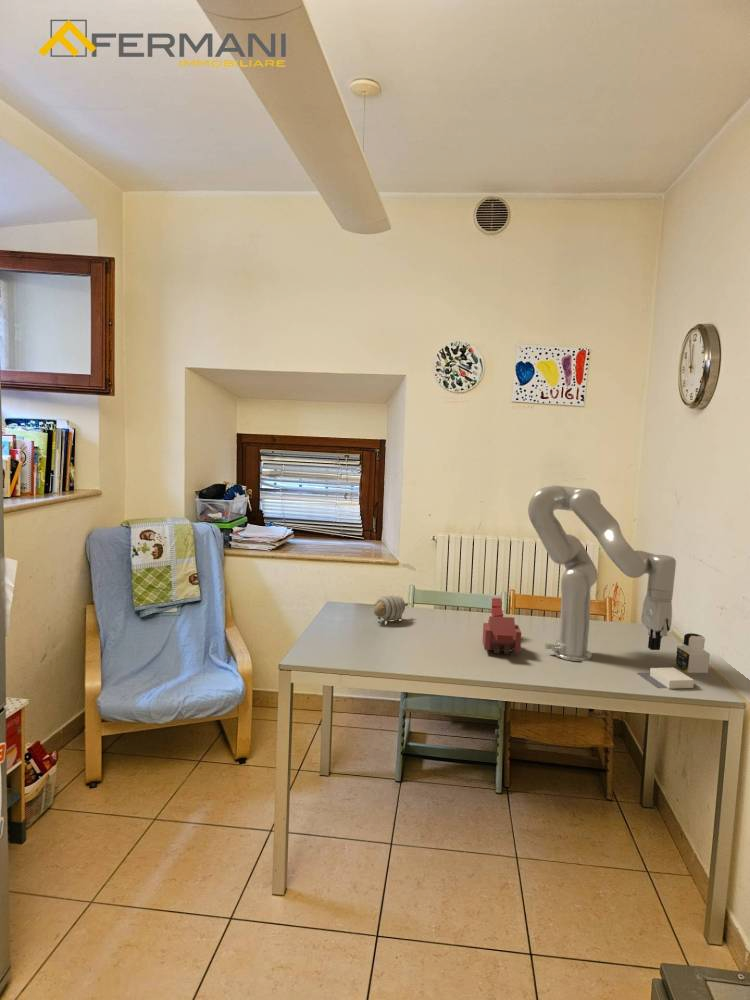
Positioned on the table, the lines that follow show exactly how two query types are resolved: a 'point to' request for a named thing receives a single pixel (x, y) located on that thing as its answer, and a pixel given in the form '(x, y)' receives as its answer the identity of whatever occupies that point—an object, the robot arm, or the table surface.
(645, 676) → the mat
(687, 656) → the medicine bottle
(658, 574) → the robot arm
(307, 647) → the table surface
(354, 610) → the table surface
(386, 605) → the toy sheep
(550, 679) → the table surface
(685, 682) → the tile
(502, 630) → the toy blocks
